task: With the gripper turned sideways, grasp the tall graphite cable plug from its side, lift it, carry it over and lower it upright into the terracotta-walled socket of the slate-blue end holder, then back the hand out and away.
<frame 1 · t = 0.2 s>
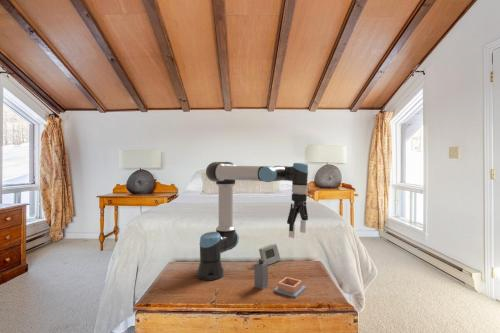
hand: (297, 234, 140), 27 cm above the table, tool pointing down, fingers open, 13 cm apart
end holder: (290, 289, 138), on the table
plug: (261, 286, 142), on the table
digital clock: (270, 263, 176), on the table
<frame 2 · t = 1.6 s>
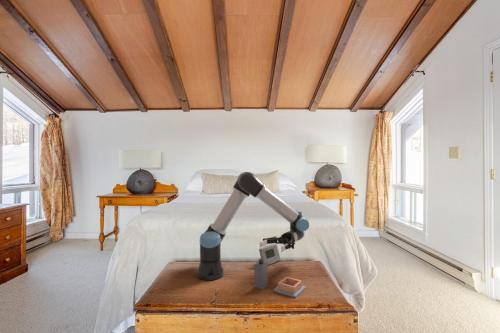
hand: (270, 247, 150), 18 cm above the table, tool horizontal, fingers open, 13 cm apart
nothing on the table moved.
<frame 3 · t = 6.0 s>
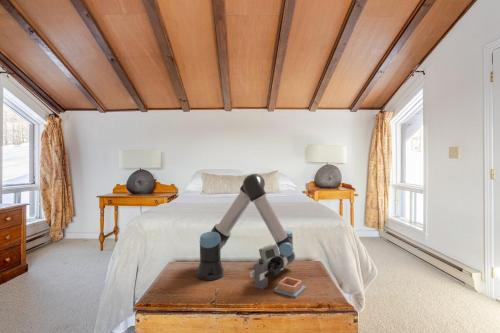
hand: (255, 276, 138), 7 cm above the table, tool horizontal, fingers closed on plug, 5 cm apart
plug: (261, 286, 142), on the table, touching gripper
everything else where it was.
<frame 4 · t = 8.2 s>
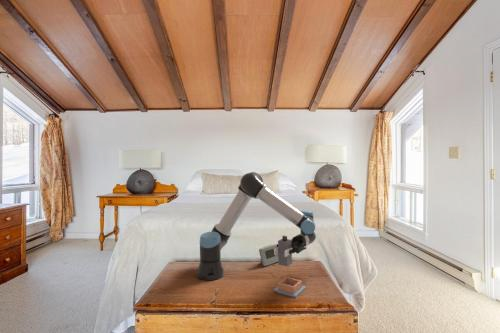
hand: (279, 252, 134), 20 cm above the table, tool horizontal, fingers closed on plug, 5 cm apart
plug: (285, 263, 139), point 13 cm above the table, touching gripper
everything else where it was.
when the fingers open (9 cm above the table, at t = 10.5 s): plug drops 1 cm, resting on end holder.
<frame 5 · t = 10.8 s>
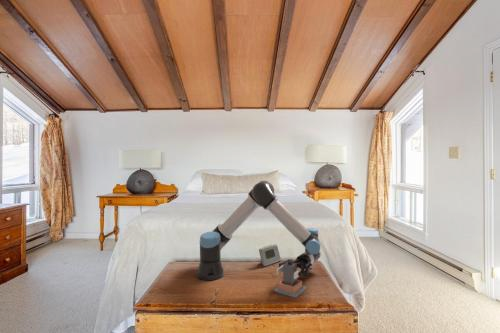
hand: (285, 274, 134), 9 cm above the table, tool horizontal, fingers open, 9 cm apart
plug: (290, 287, 138), point 1 cm above the table, touching end holder
everything else where it was.
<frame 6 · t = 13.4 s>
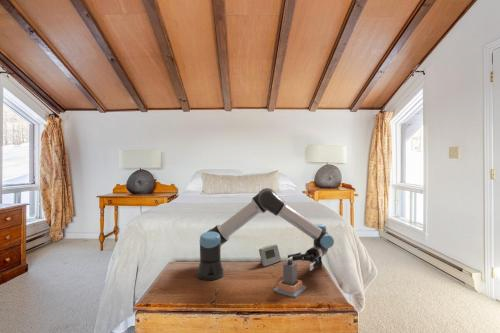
hand: (298, 265, 145), 10 cm above the table, tool horizontal, fingers open, 13 cm apart
nothing on the table moved.
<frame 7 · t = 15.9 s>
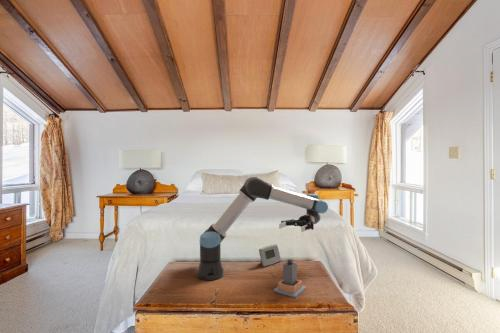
hand: (290, 227, 152), 28 cm above the table, tool horizontal, fingers open, 13 cm apart
at the end: plug 0.0 cm off-centre on the end holder, point 1.0 cm above the end holder's base; plug tilted 0°; the gripper is holding nothing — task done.
